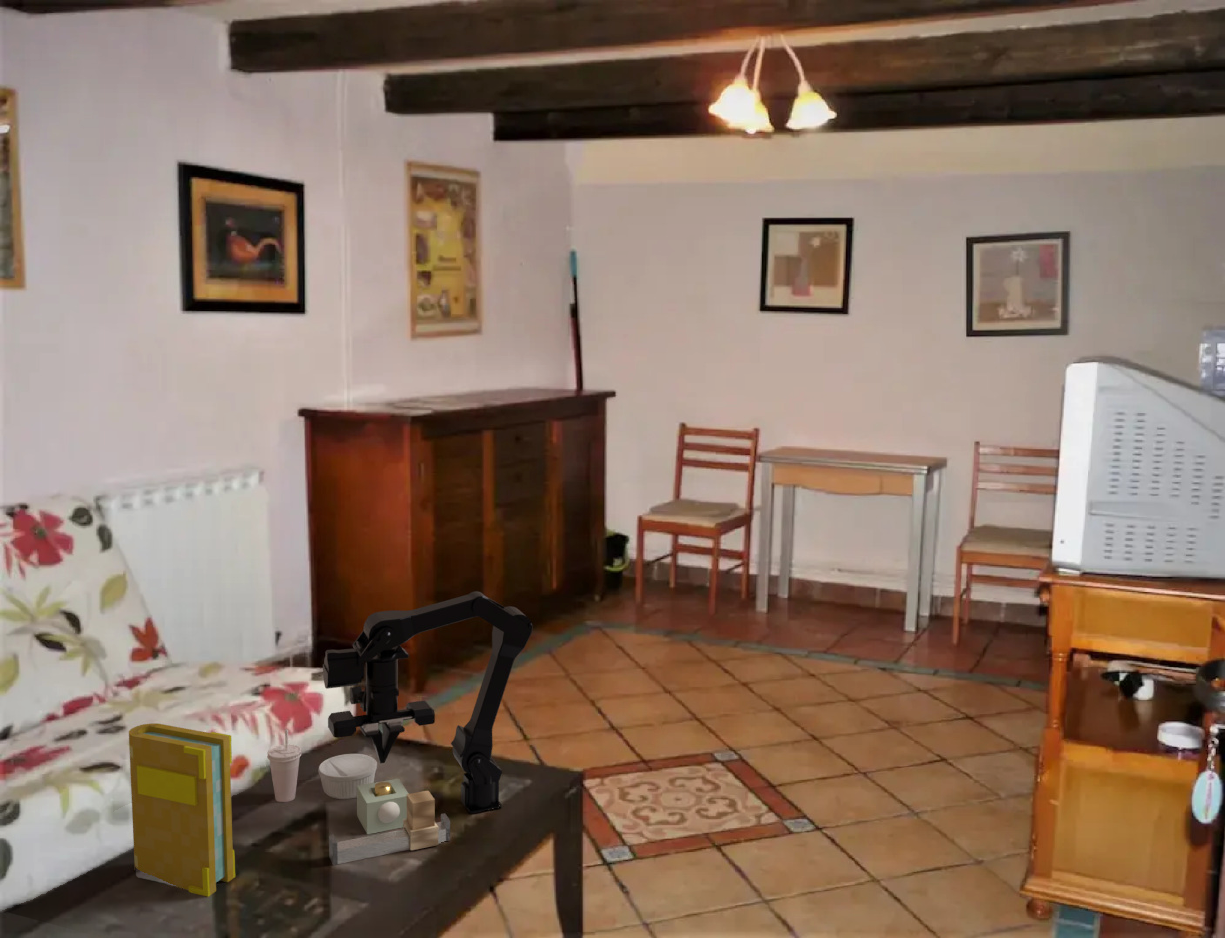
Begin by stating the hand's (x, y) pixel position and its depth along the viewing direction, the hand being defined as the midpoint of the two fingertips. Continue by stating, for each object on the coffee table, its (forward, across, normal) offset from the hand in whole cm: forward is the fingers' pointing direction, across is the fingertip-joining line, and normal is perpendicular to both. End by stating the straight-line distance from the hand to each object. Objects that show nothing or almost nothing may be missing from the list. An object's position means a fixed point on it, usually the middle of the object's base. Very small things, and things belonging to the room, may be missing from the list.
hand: (381, 762), depth 199 cm
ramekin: (+12, +3, -16) cm, 20 cm away
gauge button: (+9, 0, 0) cm, 9 cm away
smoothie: (+12, +15, -17) cm, 25 cm away
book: (+12, +36, +6) cm, 38 cm away
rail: (+12, +1, +11) cm, 16 cm away
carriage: (+12, -4, +11) cm, 17 cm away
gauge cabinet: (+12, 0, 0) cm, 12 cm away
